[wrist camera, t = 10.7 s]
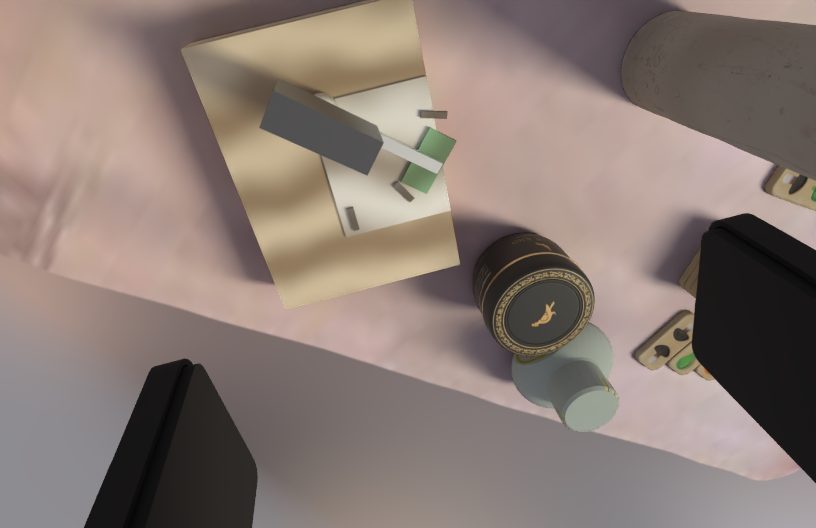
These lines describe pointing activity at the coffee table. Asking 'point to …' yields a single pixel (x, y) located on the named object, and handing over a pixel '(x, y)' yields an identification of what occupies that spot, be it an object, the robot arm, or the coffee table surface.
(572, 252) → the coffee table surface
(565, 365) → the pale green rounded vessel
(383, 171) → the tan flat box
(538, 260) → the jar
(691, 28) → the thermos bottle
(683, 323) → the pile of dominoes
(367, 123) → the peg
